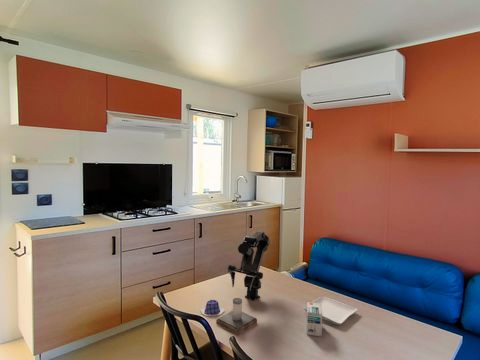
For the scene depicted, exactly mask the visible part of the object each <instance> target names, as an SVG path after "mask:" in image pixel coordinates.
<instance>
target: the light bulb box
mask: <svg viewBox="0 0 480 360" xmlns="http://www.w3.org/2000/svg"><path fill="white" fill-rule="evenodd" d="M311 302H312V301H311ZM311 302H310V301H307V304H306V305H307V311H306V335H307V334H308V336H309V335H310V336H316V337H322V335H323V334H322V333H323V332H322V329H323V319H322V310H321V304H318V303H311Z"/></svg>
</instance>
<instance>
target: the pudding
mask: <svg viewBox="0 0 480 360" xmlns="http://www.w3.org/2000/svg"><path fill="white" fill-rule="evenodd" d="M204 309H205V311H204ZM204 312H205V313H206V314H204ZM224 312H225V309H224V308H223V306H221V305H219V302H218V300H215V299H210V300H207V302H206V305H204V306H202V308H201V309H200V313H201V314H202V315H204V316H206V317H207V316H208V317H217V316H220V315H222V314H223V313H224ZM209 314H210V315H209Z"/></svg>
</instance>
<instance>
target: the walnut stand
mask: <svg viewBox="0 0 480 360" xmlns="http://www.w3.org/2000/svg"><path fill="white" fill-rule="evenodd" d="M257 323H258V318H256V317H254V316H253V315H250V314H248V313H247V312H244V311H242V319H241V320H238V321H236V320H233V319H232V310H231V311H229V312H227V313H225V314H224V315H221V316H219V317H218V318H216V319H215V324H217V325H218V326H220V327H222V328H224V329H227V330H228V331H230V332H232V333H233V334H236V335H238V336H239V335H240V334H241V333H244V331H247V330H248V329H249V328H251V327H253V326H254V325H256V324H257Z"/></svg>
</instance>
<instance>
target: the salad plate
mask: <svg viewBox="0 0 480 360" xmlns="http://www.w3.org/2000/svg"><path fill="white" fill-rule="evenodd" d="M311 303H318V304H321V310H322V320H324V319H325V320H324V321H327V322H329V323H331V322H332V323H331V324H334V325H337V326H340V325H342V324H343V323H344V322H346V320H347V319H348V318H350V317H351V316H352V315H353V314H355V313H357V312H358V310H359V309H358V308H357V307H355V306H351V305H349V304H346V303H343V302H341V301H339V300H336V299H333V298H329V297H326V296H324V295H322V296H320V297H318V298H316V299H314V300H313V301H311ZM302 309H303V310H304V311H305V312H307V304H306V305H304V306H303V307H302Z"/></svg>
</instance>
